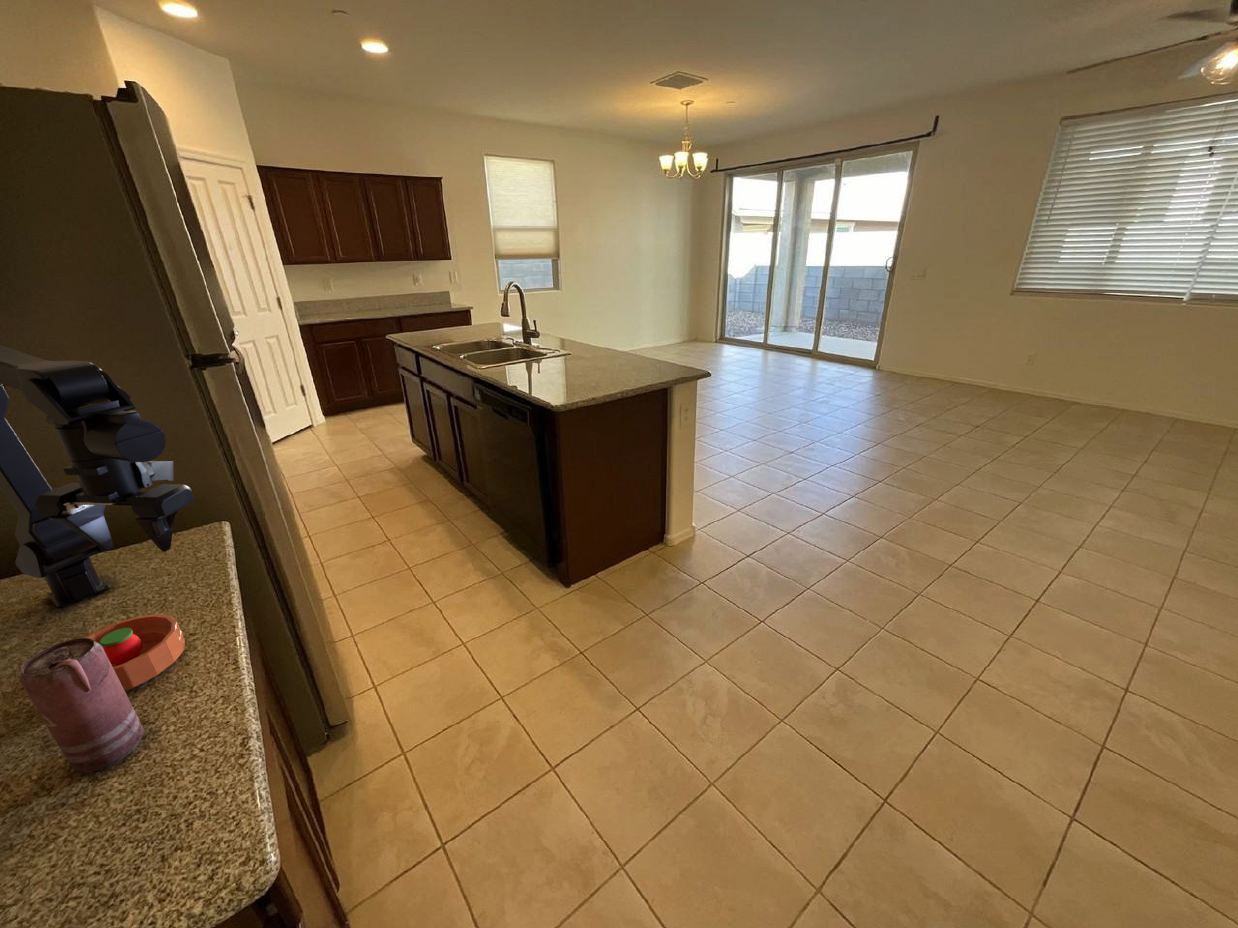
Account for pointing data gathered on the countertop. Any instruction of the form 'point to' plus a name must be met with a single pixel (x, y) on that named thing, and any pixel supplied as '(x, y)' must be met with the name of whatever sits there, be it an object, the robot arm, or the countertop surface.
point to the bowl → (147, 647)
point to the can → (82, 703)
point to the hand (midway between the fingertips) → (137, 549)
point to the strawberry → (121, 646)
